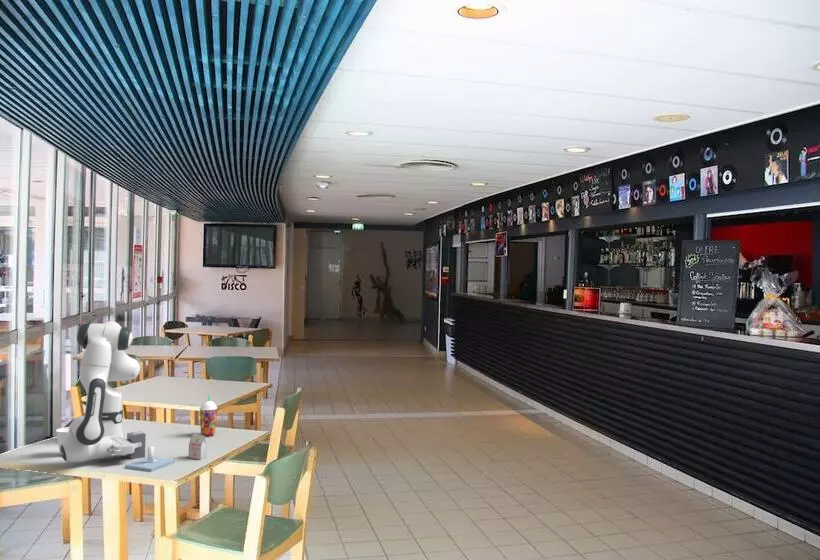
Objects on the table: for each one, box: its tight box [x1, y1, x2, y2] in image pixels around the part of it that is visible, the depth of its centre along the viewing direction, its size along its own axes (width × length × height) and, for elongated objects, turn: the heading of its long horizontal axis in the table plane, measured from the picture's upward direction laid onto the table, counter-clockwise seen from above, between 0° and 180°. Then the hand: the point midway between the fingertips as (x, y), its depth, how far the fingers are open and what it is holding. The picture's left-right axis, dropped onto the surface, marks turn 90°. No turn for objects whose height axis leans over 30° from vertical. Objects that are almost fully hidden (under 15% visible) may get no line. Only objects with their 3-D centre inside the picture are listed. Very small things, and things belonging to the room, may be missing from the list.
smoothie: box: [199, 394, 218, 438], centre depth 314 cm, size 8×8×20 cm
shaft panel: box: [124, 446, 176, 473], centre depth 262 cm, size 13×14×8 cm
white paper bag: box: [188, 433, 208, 461], centre depth 275 cm, size 4×7×10 cm, turn 66°
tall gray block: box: [126, 430, 147, 460], centre depth 274 cm, size 6×6×10 cm
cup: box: [55, 426, 70, 457], centre depth 274 cm, size 10×10×11 cm
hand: (138, 442), depth 274 cm, fingers closed on tall gray block, 6 cm apart
